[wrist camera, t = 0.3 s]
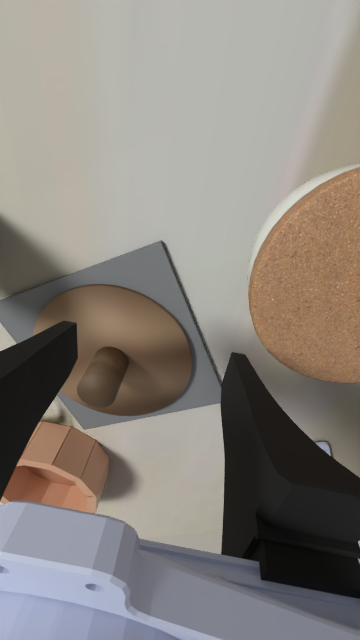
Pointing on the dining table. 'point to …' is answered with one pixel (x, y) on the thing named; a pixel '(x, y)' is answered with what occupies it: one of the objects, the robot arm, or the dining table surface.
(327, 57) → the dining table surface
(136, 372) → the lid
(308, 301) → the lidded jar
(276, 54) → the dining table surface
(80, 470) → the bowl
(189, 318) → the mat
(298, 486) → the robot arm
